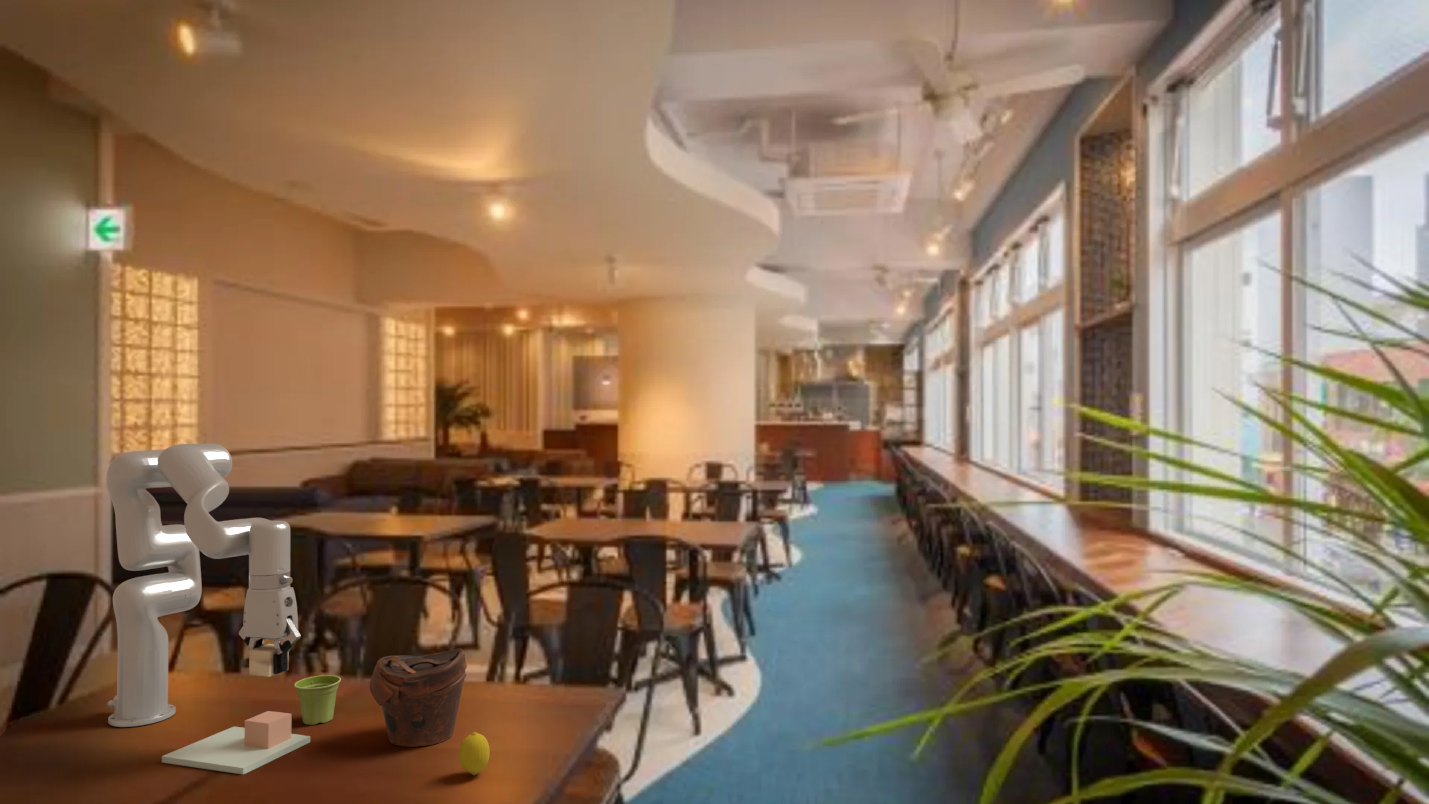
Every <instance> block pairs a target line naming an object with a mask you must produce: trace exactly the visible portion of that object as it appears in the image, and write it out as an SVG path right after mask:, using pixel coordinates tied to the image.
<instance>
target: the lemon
mask: <svg viewBox="0 0 1429 804" xmlns="http://www.w3.org/2000/svg"><path fill="white" fill-rule="evenodd" d="M459 747H460V748H459V752H458V754H459V755H458V758H459V759H458V760H459V764H460V766H461V768H462V769H463V770H464V771H465V772H467V773H470V774H471V776H476V775H477V774H478V773H479V772H481V771H483V770H484V769H485V768H486V766H487V765H488V764H489V759H490V753H491V751H490V745H489V742H488V740H487V738H486V737H485V736H484V735H483V734H481V733H478V732H476V731H474V732H471V734H468V735H467V736H466V737H465V738H464V739H463V740H462V741H461V745H460V746H459Z"/></svg>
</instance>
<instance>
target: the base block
mask: <svg viewBox="0 0 1429 804" xmlns="http://www.w3.org/2000/svg"><path fill="white" fill-rule="evenodd" d="M292 716H293V715H292V713H287V712H282V711H271V710H267V711H265V712H261V713H259V714H257V715H255V716H252V717H250V718H247V719H245V720H244V728H245V738H244V746H251V747H259V748H266V749H269V748H271V747H273V746H275V745H278V744H280V743H282V742H284V741H286V740H288V739H291V734H292Z"/></svg>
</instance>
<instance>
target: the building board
mask: <svg viewBox="0 0 1429 804" xmlns="http://www.w3.org/2000/svg"><path fill="white" fill-rule="evenodd" d="M244 738H245V727H241V726H240V727H239V726H235V725H233V726H231V727H230V728H227V729H224V730H222V731H219V732H217V733H214V734H212V735H210V736H208V737H205V738H202V739H200V740H197V741H196V742H193V743H190V744H188V745H186V746H184V747H181V748H178V749H176V750H173V751H172V752H169V753H166V754H164V755H162V756H161V763H164V764H169V765H170V764H171V765H176V766H183V767H190V768H198V769H204V770H209V771H218V772H224V773H228V774H231V773H232V774H238V775H245V774H247V773H249V772H252V771H254V770H256V769H258V768H260V767H262V766H264V765H266V764H269V763H270V762H272V761H274V760H276V759H279V758H281V757H282V756H284V755H287V754H288V753H289V754H290V752H293V751H295V750H297V749H299V748H301V747H303V746H305V745H308V744H309V743H311V736H310V735H304V734H297V733H291V739H288V740H286V741H284V742H282V743H280V744H278V745H275V746H273V747H271V748H269V749H266V748H259V747H251V746H244Z"/></svg>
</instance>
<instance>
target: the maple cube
mask: <svg viewBox="0 0 1429 804" xmlns="http://www.w3.org/2000/svg"><path fill="white" fill-rule="evenodd" d="M248 652H249V660H248V661H249V665H248V666H249V671H248V672H249V673H248V674H249V676H258V677H269V678H271V677H272V676H276V675H277V674H274V654H277V653H276V650H275V646H274V643H267V644H264V645H263V646H261V647H258V648H254V649H251V650H250V651H248ZM287 671H289V668H288V669H287Z"/></svg>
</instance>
